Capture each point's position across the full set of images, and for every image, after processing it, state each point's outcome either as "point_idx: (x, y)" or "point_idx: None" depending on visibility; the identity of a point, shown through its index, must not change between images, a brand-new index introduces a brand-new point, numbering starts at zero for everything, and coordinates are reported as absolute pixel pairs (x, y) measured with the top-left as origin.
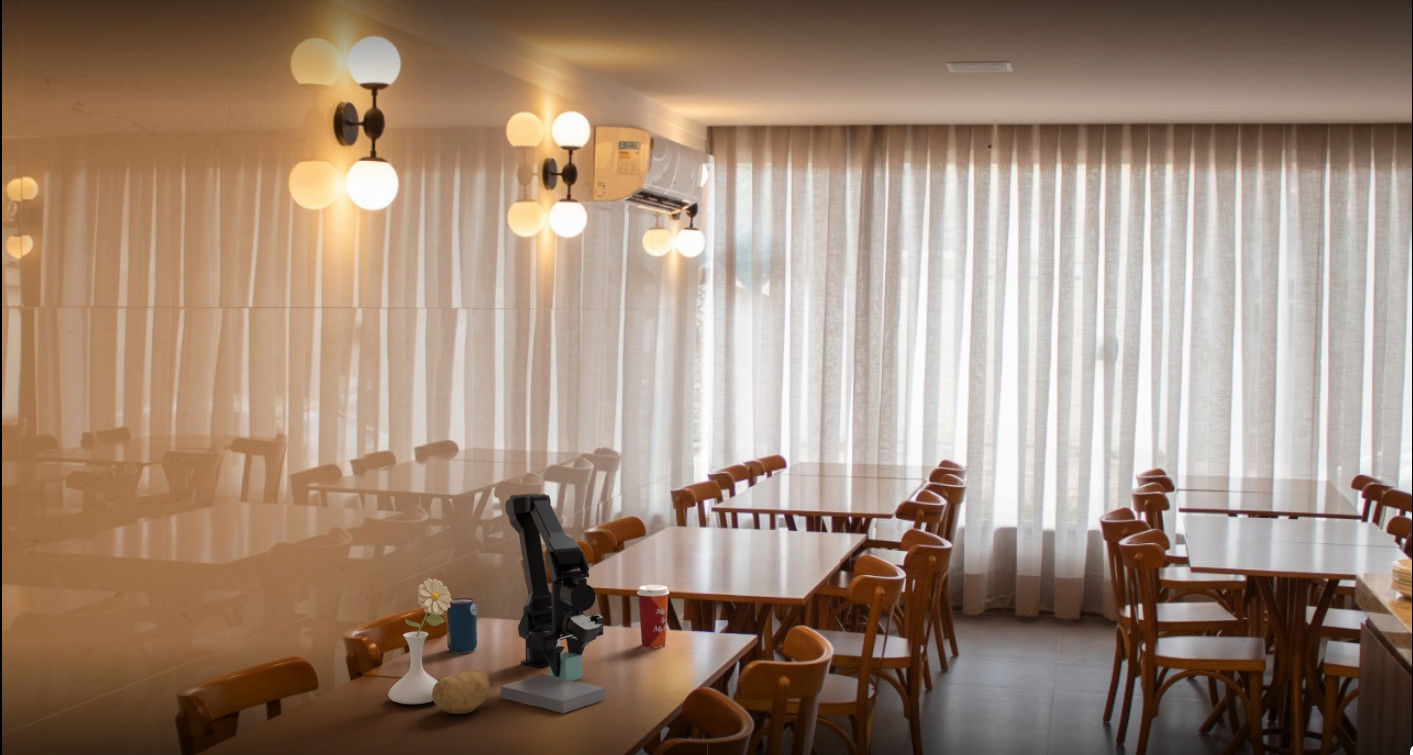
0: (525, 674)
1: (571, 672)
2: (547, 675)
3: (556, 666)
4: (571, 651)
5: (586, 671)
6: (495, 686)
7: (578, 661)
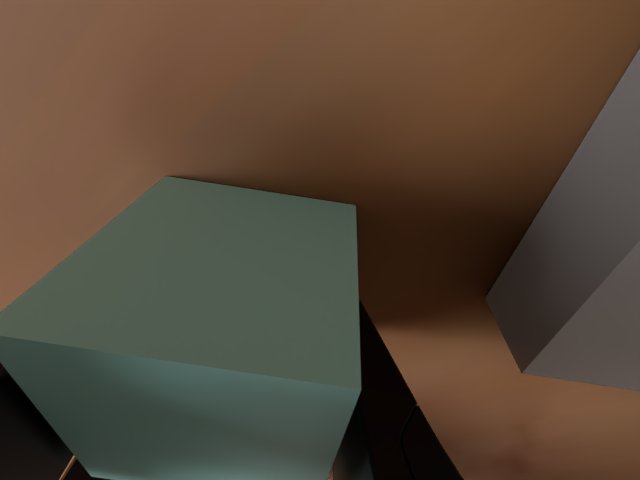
0: None
1: (276, 235)
2: (579, 326)
3: (395, 371)
4: (40, 457)
5: (38, 241)
6: (553, 437)
7: (114, 282)
